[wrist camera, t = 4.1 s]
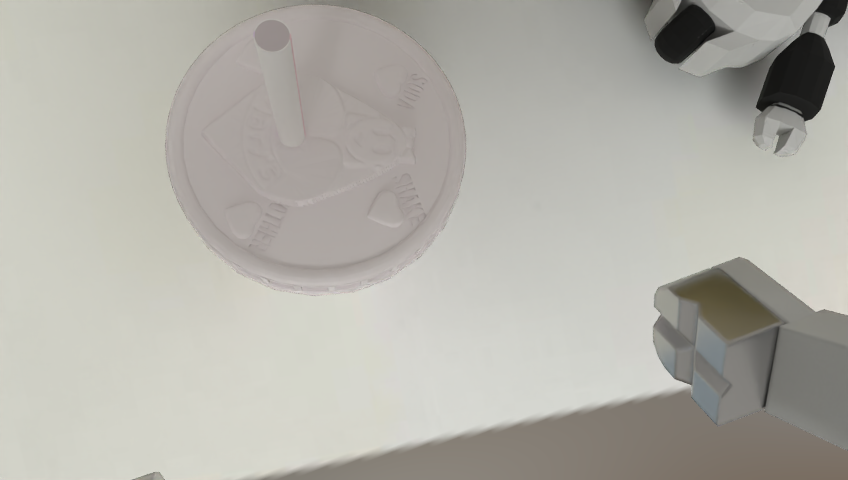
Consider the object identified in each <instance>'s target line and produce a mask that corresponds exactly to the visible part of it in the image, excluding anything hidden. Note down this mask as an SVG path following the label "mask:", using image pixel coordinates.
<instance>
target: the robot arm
mask: <svg viewBox="0 0 848 480" xmlns="http://www.w3.org/2000/svg"><path fill="white" fill-rule="evenodd" d="M654 307H655V308H656V309H657V310H658V311H659V312H660V313H661V315H660V317H659V318H658V320H657V321H656V323H655V324H654V326H653V342H654V345H655V348H656V351H657V354H658V357H659V359H660V360H661V362H662V364H663V365H664V367H665V368H666V370H667V371H668V372H669V373H670V374H671V375H672V376H673V378H674V379H676V380H679V381H682V382H684V383H687V384H690V385H691V394H692V399H693V400H694V401H695V402H696V403H697V404H698V405H699V406H700V407H701V409H702V410H703V411H704V412H705V413H706V414H707V415H708V416H709V417H710V418H711V420H712V421H713V422H714V423H715V424H716V425H717V426H721V425H723V424H726V423H729V422H731V421H734V420H737V419H739V418H742V417H745V416H747V415H750V414H753V413H755V412H758V411H761V410H763V409H765V412H766V413H769V414H771V415H773V416H775V417H777V418H779V419H781V420H783V421H785V422H788V423H790V424H792V425H794V426H796V427H798V428H800V429H802V430H805V431H807V432H809V433H811V434H813V435H815V436H817V437H819V438H821V439H824V440H826V441H828V442H830V443H832V444H835V445H836V446H839V447H841V448H843V449H845V450H847V451H848V316H847V315H844V314H840V313H836V312H832V311H828V310H825V309H824V310H821V311H818V312H815V311H814V310H813V309H811V308H810V307H809V306H807V305H806V304H805V303H803V302H802V301H801V300H800V299H798V298H797V297H796V296H794V295H793V294H792V293H790V292H789V291H788V290H787V289H785V288H784V287H783V286H781V285H780V284H779V283H777V282H776V281H775V280H774V279H772V278H771V277H770V276H768V275H767V274H766V273H764V272H763V271H762V270H761V269H759V268H758V267H757V266H755V265H754V264H753V263H751V262H750V261H749V260H747V259H744V258H741V257H738V258H735V259H732V260H730V261H727V262H724V263H722V264H719V265H716V266H714V267H712V268H709V269H705V270H703V271H700V272H698V273H695V274H692V275H690V276H687V277H684V278H682V279H679V280H676V281H674V282H671V283H668V284H666V285H663V286H661V287H658V289H657V291H656V293H655V295H654ZM133 480H165V479H164V478H163V476H162V475H161V473H160V472H153V473H150V474H147V475H144V476H141V477H139V478H136V479H133Z"/></svg>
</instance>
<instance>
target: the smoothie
mask: <svg viewBox="0 0 848 480" xmlns="http://www.w3.org/2000/svg"><path fill="white" fill-rule="evenodd" d="M165 148H166V161H167V167H168V173H169V177H170V181H171V184H172V188H173V190H174V193H175V195H176V198H177V200H178V202H179V204H180V206H181V208H182V210H183V212H184V214H185V216H186V218H187V219H188V221H189V222H190V224H191V225H192V226H193V228H194V229H195V231H196V232H197V234H198V235H199V236H200V238H201V239H202V241H203V242H204V244H205V245H206V247H207V248H208V249H209V250H210V251H212V252H213V253H214V254H215V255H216V256H218V257H219V258H220V259H221V260H222V261H224V262H225V263H226V264H227V265H229V266H230V267H231V268H232V269H233V270H235V271H236V272H237V273H239V274H241V275H243V276H245V277H247V278H250V279H252V280H254V281H256V282H259V283H261V284H263V285H265V286H267V287H270V288H272V289H274V290H280V291H286V292H292V293H298V294H304V295H310V296H319V295H329V294H340V293H350V292H355V291H358V290H360V289H363V288H366V287H368V286H371V285H374V284H377V283H379V282H382V281H385V280H387V279H390V278H391V277H393V276H394V275H395V274H397V273H398V272H400V271H401V270H403V269H404V268H405V267H407V266H408V265H410V264H411V263H412V262H414V261H415V260H417V259H418V258H419V257H421V256H422V254H423V253H424V252H425V251H426V249H427V248H428V247H429V246H430V245H431V243H432V242H433V241H434V240H435V239H436V237H437V236H438V235H439V234H440V232H441V231H442V230H443V229H444V227H445V225H446V223H447V220H448V218H449V216H450V214H451V211H452V209H453V207H454V205H455V202H456V200H457V198H458V195H459V189H460V185H461V181H462V178H463V173H464V167H465V159H466V134H465V127H464V121H463V117H462V113H461V109H460V106H459V103H458V100H457V97H456V95H455V93H454V91H453V89H452V86H451V84H450V82H449V81H448V79H447V77H446V76H445V74H444V72H443V71H442V70H441V68H440V67H439V65H438V64H437V63H436V61H435V60H434V59H433V58H432V57H431V56H430V55H429V53H428V52H427V51H426V50H425V49H424V48H423V47H422V46H421V45H419V44H418V43H417V42H416V41H415V40H414V39H412V38H411V37H410V36H409V35H407V34H406V33H405V32H403V31H401V30H400V29H398V28H397V27H395V26H394V25H392V24H390V23H388V22H386V21H384V20H382V19H380V18H377V17H375V16H373V15H370V14H368V13H364V12H361V11H358V10H354V9H350V8H345V7H340V6H332V5H315V4H311V5H296V6H290V7H283V8H279V9H275V10H271V11H268V12H265V13H262V14H259V15H256V16H254V17H252V18H249V19H247V20H245V21H243V22H241V23H239V24H238V25H236V26H234V27H232V28H231V29H229V30H228V31H226V32H225V33H224V34H222V35H221V36H219V37H218V38H217V39H216V40H215V41H213V42H212V43H211V44H210V45H209V46H208V47H207V48H206V49H205V50H204V51H203V52H202V53H201V54H200V55H199V56H198V58H197V59H196V60H195V61H194V63H193V64H192V65H191V67H190V68H189V70H188V71H187V73H186V74H185V76H184V77H183V79H182V81H181V83H180V85H179V87H178V89H177V91H176V94H175V97H174V99H173V102H172V105H171V109H170V112H169V116H168V122H167V128H166V143H165Z"/></svg>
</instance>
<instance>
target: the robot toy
mask: <svg viewBox="0 0 848 480" xmlns="http://www.w3.org/2000/svg"><path fill="white" fill-rule="evenodd" d="M847 6H848V0H654V1H653V3H652V5H651V7H650V9H649V11H648V13H647V15H646V17H645V19H644V21H645V24H646V27H647V30H648V33H649V36H650V39H651V40H652V39H653V38H654V37H655V35H656V34H657V33H658V32H659V31H660V29H661V28H662V27H663V26H664V25H665V24H666V22H668V23H669V24H668V25H667V26H666V27H665V28H664V29H663V30H662V31H661V32H660V33H659V34H658V36H657V37H656V39H655V48H656V51H657V52H658V54H659V55H660V56H661V57H662V58H663V59H664V60H666V61H667V62H670V63H677V64H678V63H680V62H682V61H683V60H684V59H686V58H687V57H688V56H689V55H690V54H691V53H692V52H693V51H694V50H695V51H696V52H695V53H694V54H693V55H692V56H691V57H690V58H689V59H688V60H687V61H686V62H685V63H684V64H683V65H682V66H681V67H680V68H679V69H680V70H683V71H685V72H688V73H691V74H693V75H696V76H698V77H701V76H704V75H707V74H709V73H712V72H715V71H717V70H720V69H723V68H725V67H736V68H742V67H745V66H747V65H750V64H752V63H754V62H757V61H759V60H762V59H763V58H764V57H765V56H767V55H768V54H769V53H771V52H772V51H773V50H774V49H776V48H777V47H778V46H779V45H781V44H782V43H783V42H785V41H786V40H787V39H788V38H790V37H791V36H792V35H794V34H795V33H796V32H797V31H798V30H799V29H800V28H801V27H802V25H803V24H804V25H803V28H802V31H801V34H800V36H799V37H798V38H797V39H796V40H794V41H793V42H792V43H791V44H790V45H789V46H788V47H787V48H785V49H784V50H783V51H782V52H781V53H780V54H779V55H778V56H777V57H776V59H775V60H774V62H773V63H772V65H771V66H770V68H769V71H768V74H767V77H766V80H765V82H764V85H763V88H762V91H761V94H760V97H759V100H758V102H757V105H756V108H757V109H759V110H760V111H761V112H762V113H761V114H760V115H758V116H757V117H756V118H755V123H754V134H753V141H754V143H755V144H756V145H757V146H758V147H759V148H761V149H763V150H767V149H768V148H771V147H772V146H773V142H774V138H775V136H776V135H779V139H778V142H777V146H776V149H775V151H774V153H773V154H775V155H777V156H780V157H783V156H789V155H793V154H796V153H797V151H798V150H799V148H800V146H801V145H802V143H803V142H804V140H805V138H806V135H807V133H806V128H805V123H804V121H807V120H811V119H813V118H814V116H815V115H816V114H817V113H818V112H819V111H820V110H821V107H822V104H823V101H824V98H825V95H826V92H827V89H828V86H829V83H830V80H831V77H832V74H833V71H834V68H835V65H834V62H833V60H832V57H831V54H830V51H829V48H828V46H827V44H826V42H825V39H824V37H825V34H826V31H827V28H828V27H830V26H832V25H834V24H837V23H838V22H839V21H840V19H841V18H842V17H843V15H844V14H845V11H846V8H847Z"/></svg>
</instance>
